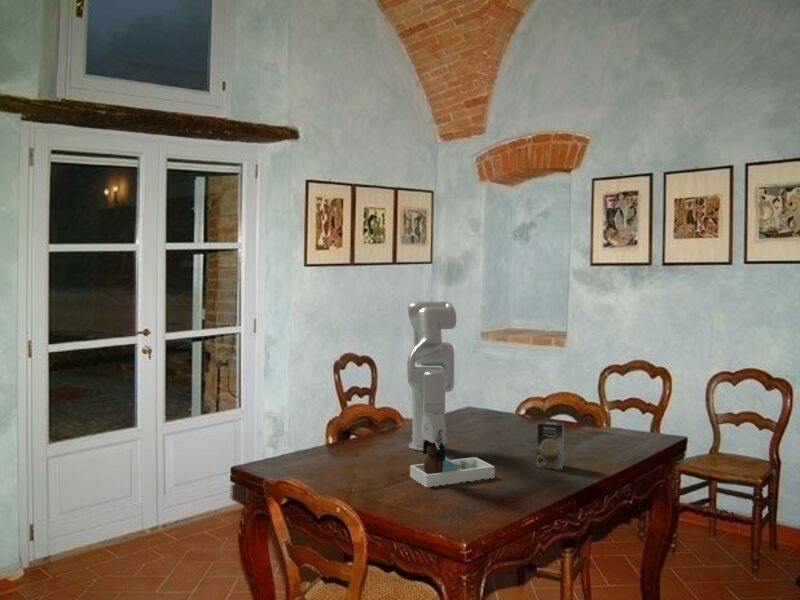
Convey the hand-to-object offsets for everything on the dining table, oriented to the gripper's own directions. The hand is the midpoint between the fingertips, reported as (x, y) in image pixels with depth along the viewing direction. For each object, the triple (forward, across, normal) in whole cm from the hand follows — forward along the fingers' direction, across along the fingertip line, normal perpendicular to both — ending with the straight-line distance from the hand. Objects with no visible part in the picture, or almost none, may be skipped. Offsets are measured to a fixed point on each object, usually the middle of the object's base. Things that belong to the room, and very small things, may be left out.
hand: (433, 457), depth 239 cm
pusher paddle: (+6, 0, +9) cm, 11 cm away
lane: (+8, 0, +7) cm, 10 cm away
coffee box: (+8, +3, +46) cm, 47 cm away
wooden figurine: (+7, 0, 0) cm, 7 cm away
